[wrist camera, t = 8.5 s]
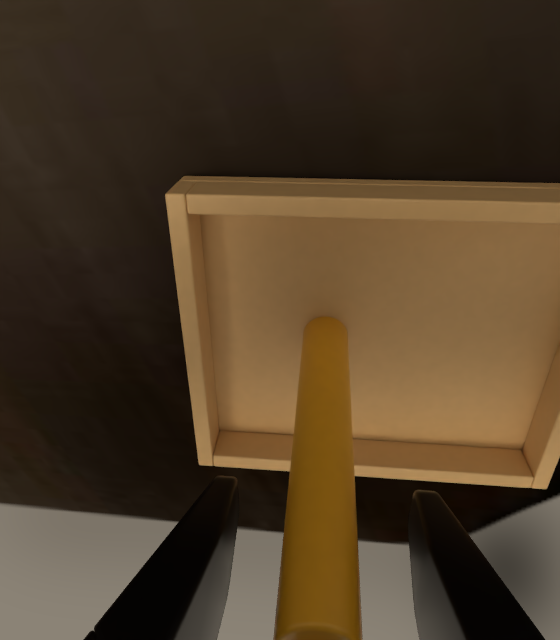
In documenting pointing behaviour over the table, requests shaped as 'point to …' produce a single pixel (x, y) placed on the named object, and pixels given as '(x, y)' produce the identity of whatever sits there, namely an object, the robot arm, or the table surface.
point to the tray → (376, 320)
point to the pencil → (321, 498)
